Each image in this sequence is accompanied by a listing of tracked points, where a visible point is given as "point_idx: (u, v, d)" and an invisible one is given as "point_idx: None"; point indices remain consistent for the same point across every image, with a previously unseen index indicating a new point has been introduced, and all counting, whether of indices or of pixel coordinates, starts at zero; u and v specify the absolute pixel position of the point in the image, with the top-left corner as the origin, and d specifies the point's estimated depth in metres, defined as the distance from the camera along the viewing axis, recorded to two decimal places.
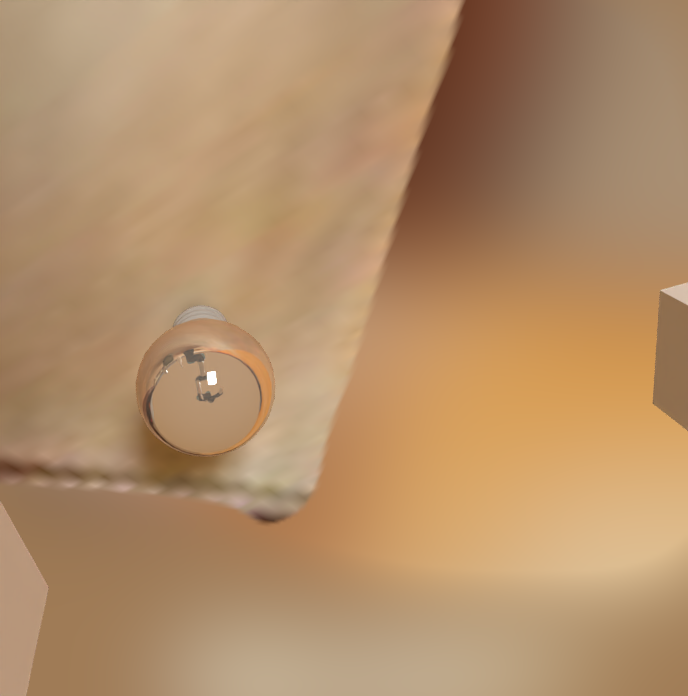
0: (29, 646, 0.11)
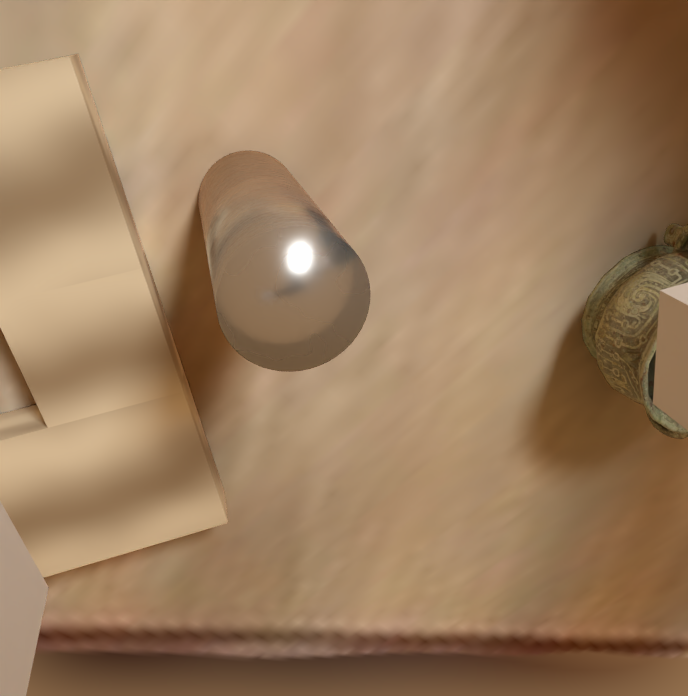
0: (29, 646, 0.11)
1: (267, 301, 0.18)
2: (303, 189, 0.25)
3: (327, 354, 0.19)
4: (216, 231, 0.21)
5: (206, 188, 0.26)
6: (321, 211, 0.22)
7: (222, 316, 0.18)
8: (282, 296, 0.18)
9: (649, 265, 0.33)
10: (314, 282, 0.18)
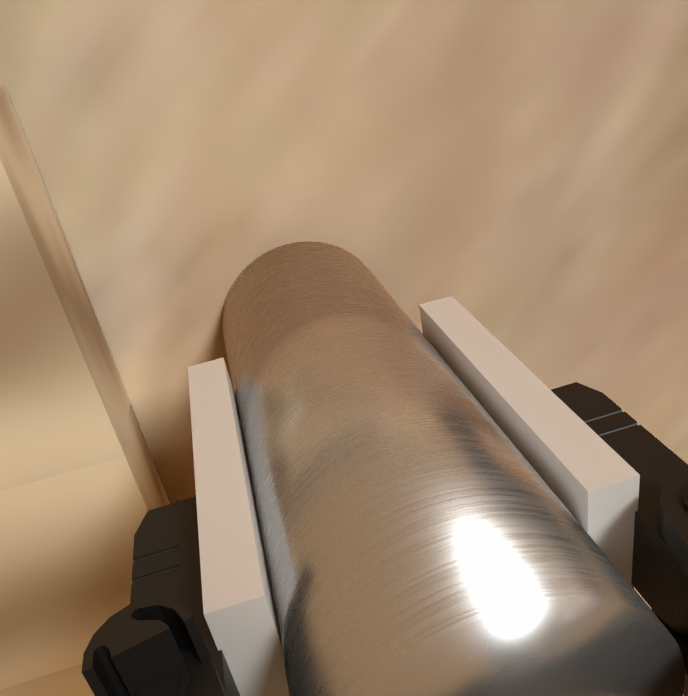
0: None
1: None
2: (423, 335, 0.13)
3: None
4: (282, 489, 0.09)
5: (240, 320, 0.15)
6: (494, 422, 0.10)
7: None
8: None
9: None
10: None
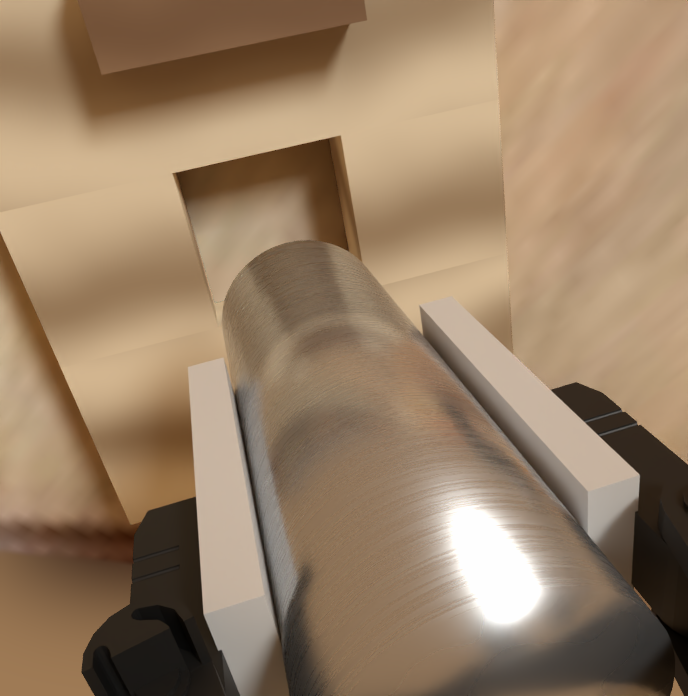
0: None
1: None
2: (420, 333, 0.13)
3: None
4: (280, 483, 0.10)
5: (239, 317, 0.15)
6: (490, 417, 0.11)
7: None
8: None
9: None
10: (550, 693, 0.07)
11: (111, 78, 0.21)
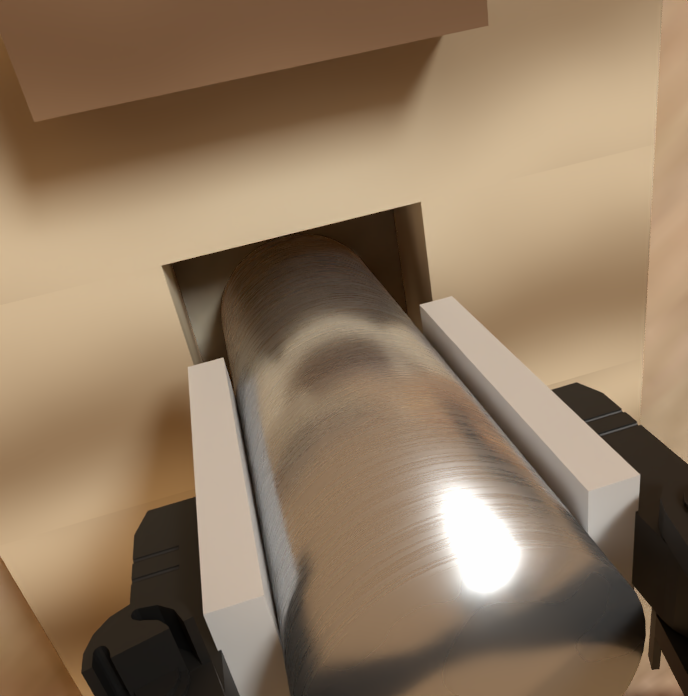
0: None
1: None
2: (412, 322, 0.14)
3: None
4: (276, 461, 0.10)
5: (237, 308, 0.15)
6: (476, 400, 0.11)
7: None
8: (453, 690, 0.08)
9: None
10: (527, 652, 0.08)
11: (59, 120, 0.13)
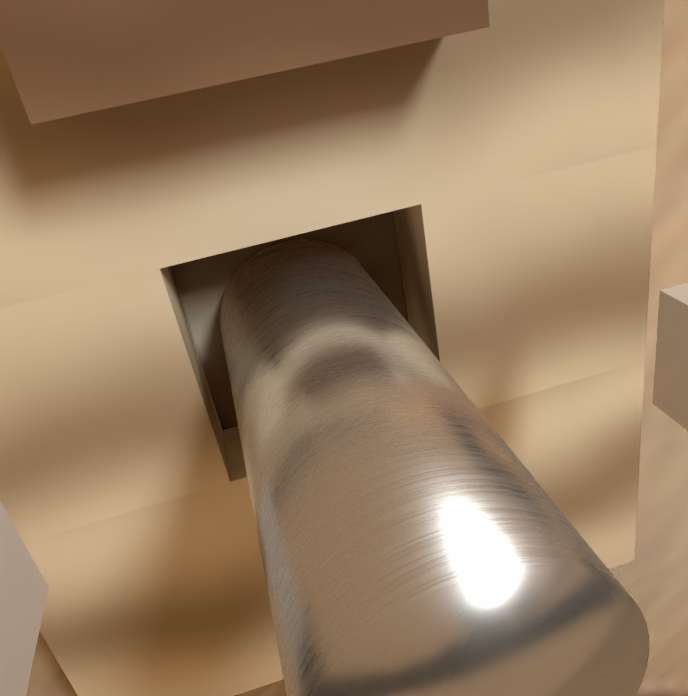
0: (29, 646, 0.11)
1: None
2: (412, 329, 0.14)
3: None
4: (275, 472, 0.10)
5: (236, 314, 0.15)
6: (478, 409, 0.11)
7: None
8: None
9: None
10: (530, 669, 0.08)
11: (56, 122, 0.12)
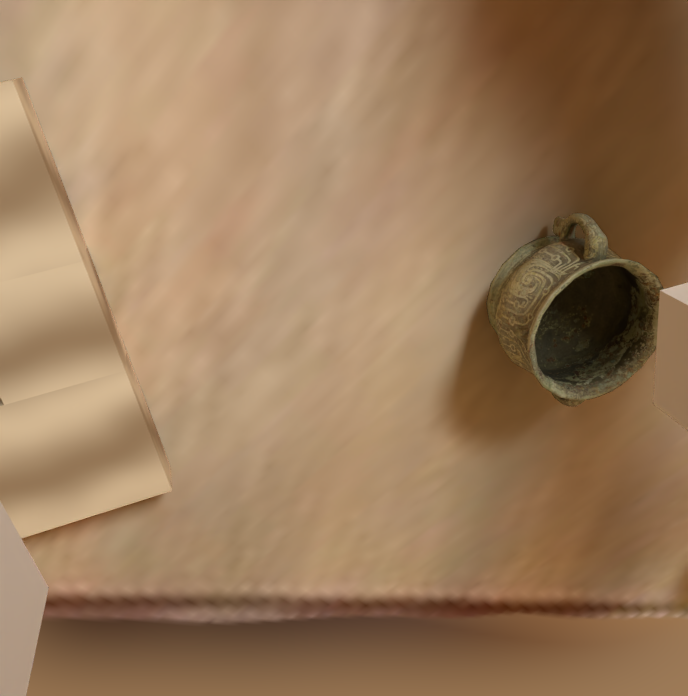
0: (29, 646, 0.11)
1: None
2: None
3: None
4: None
5: None
6: None
7: None
8: None
9: (537, 253, 0.37)
10: None
11: None
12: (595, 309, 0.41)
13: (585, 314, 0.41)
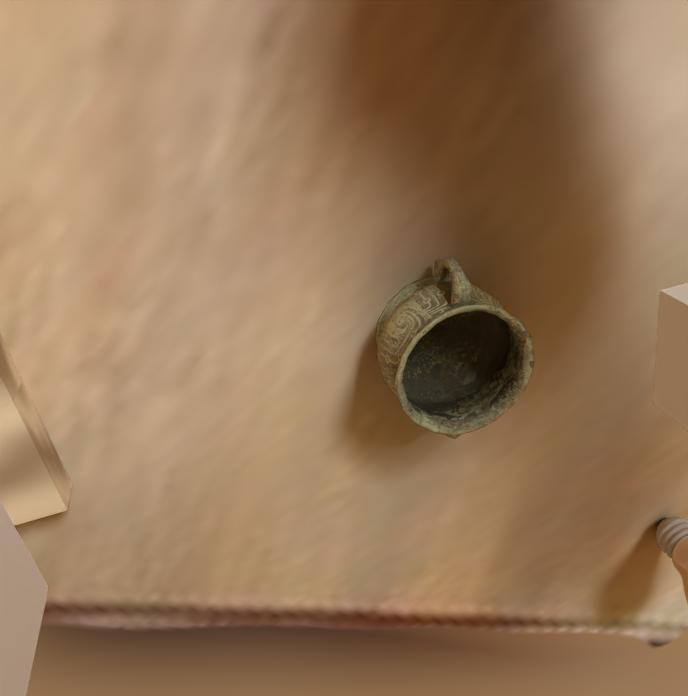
0: (29, 646, 0.11)
1: None
2: None
3: None
4: None
5: None
6: None
7: None
8: None
9: (413, 294, 0.39)
10: None
11: None
12: (481, 345, 0.43)
13: (472, 349, 0.43)
